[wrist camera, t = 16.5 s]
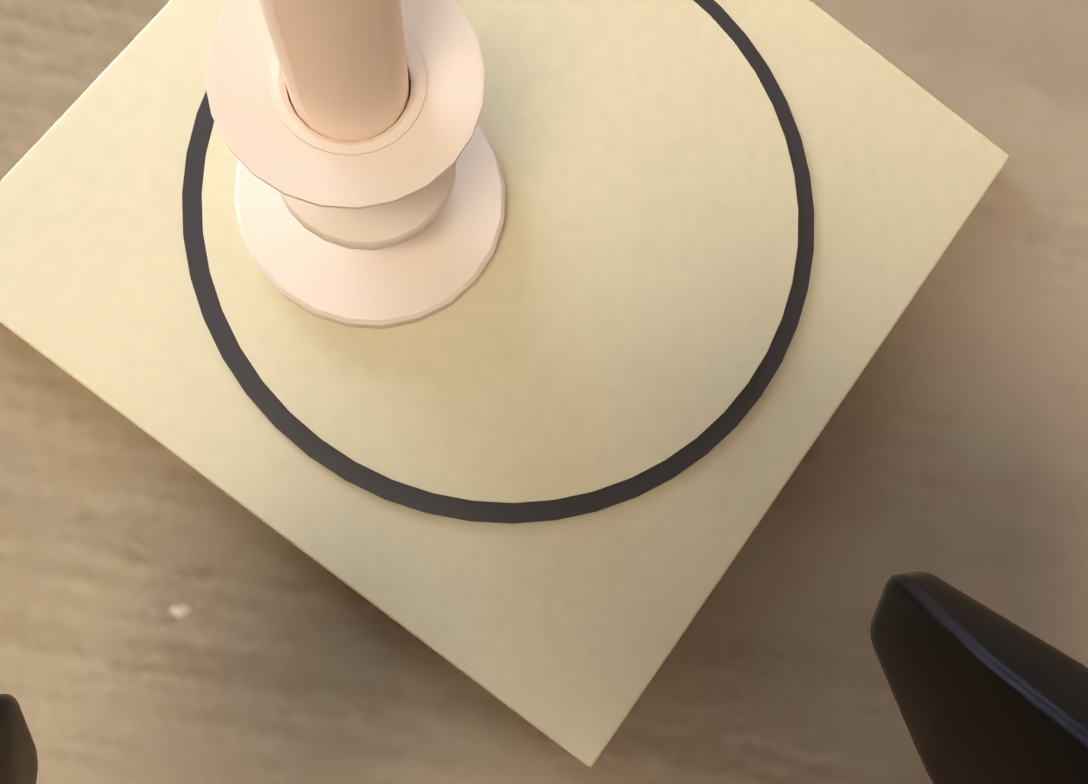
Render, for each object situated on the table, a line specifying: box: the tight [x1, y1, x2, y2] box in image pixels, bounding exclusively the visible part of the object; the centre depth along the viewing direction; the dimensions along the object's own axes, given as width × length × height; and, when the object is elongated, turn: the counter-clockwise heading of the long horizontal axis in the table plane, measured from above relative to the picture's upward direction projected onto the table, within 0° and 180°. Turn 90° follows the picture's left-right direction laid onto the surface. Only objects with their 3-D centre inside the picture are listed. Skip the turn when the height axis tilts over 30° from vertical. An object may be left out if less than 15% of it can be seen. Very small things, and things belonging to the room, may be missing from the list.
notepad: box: [0, 0, 1009, 767], centre depth 19 cm, size 16×16×1 cm
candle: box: [204, 0, 505, 329], centre depth 13 cm, size 5×5×10 cm
